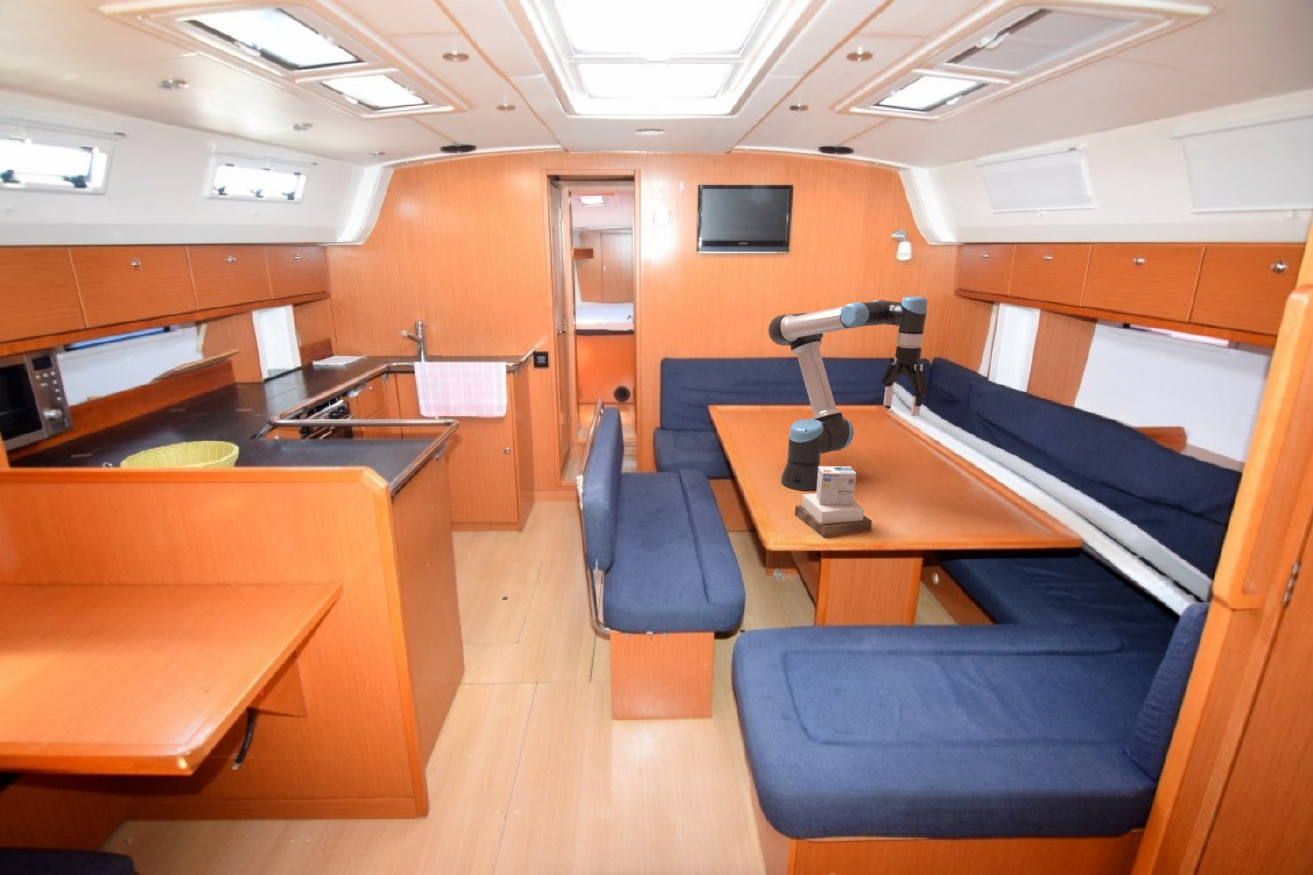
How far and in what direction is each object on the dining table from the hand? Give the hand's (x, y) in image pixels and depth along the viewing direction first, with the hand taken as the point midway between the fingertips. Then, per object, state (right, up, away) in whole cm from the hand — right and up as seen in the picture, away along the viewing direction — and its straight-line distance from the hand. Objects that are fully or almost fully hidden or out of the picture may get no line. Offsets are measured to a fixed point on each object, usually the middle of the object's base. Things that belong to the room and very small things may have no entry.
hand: (900, 410), depth 204 cm
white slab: (-25, -33, -8) cm, 42 cm away
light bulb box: (-25, -29, -9) cm, 39 cm away
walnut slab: (-25, -37, -6) cm, 45 cm away
